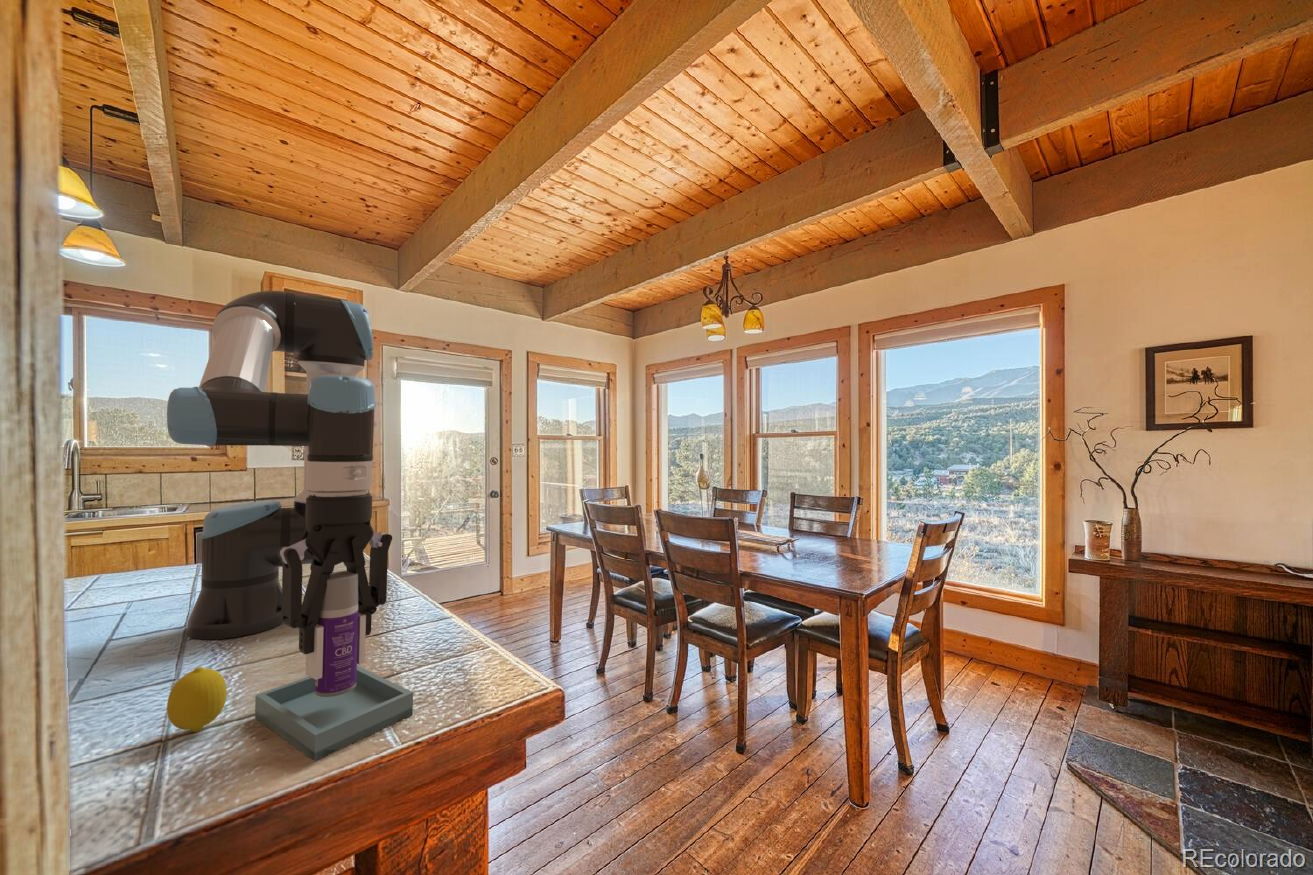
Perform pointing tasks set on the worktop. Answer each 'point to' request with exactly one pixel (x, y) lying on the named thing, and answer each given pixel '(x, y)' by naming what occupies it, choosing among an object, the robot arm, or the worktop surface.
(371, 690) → the tray
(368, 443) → the robot arm
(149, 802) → the worktop surface
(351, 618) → the container
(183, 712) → the lemon
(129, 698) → the worktop surface
